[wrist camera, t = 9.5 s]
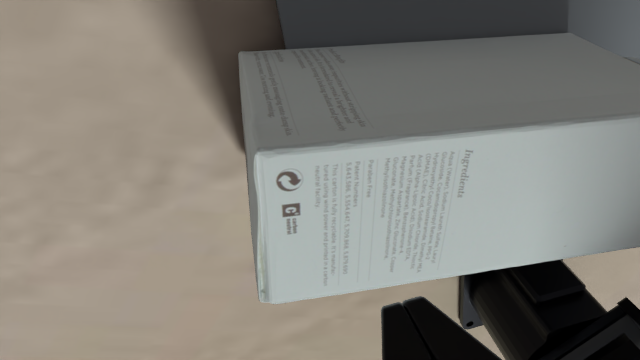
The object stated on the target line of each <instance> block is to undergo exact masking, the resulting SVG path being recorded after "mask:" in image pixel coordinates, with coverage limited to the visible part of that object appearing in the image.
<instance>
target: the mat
mask: <svg viewBox="0 0 640 360" xmlns="http://www.w3.org/2000/svg"><path fill="white" fill-rule="evenodd" d="M276 4H277V9H278V14H279V19H280V24H281V29H282V34H283V39H284V44H285V49H303V48H320V47H337V46H354V45H371V44H387V43H405V42H423V41H440V40H456V39H474V38H490V37H506V36H521V35H540V34H557V33H572V34H574V35H576V36H578V37H580V38H582V39H584V40H586V41H588V42H590V43H592V44H594V45H597V46H599V47H601V48H603V49H605V50H607V51H610V52H612V53H614V54H616V55H619V56H621V57H634V58H637V59H640V0H276Z"/></svg>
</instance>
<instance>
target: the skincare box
mask: <svg viewBox="0 0 640 360" xmlns="http://www.w3.org/2000/svg"><path fill="white" fill-rule="evenodd" d="M238 60H239V79H240V92H241V106H242V119H243V131H244V143H245V155H246V167H247V181H248V195H249V208H250V221H251V234H252V244H253V253H254V263H255V273H256V282H257V290H258V297H259V301H261V302H269V303H272V304H280V303H287V302H293V301H299V300H305V299H312V298H319V297H325V296H333V295H339V294H345V293H351V292H357V291H364V290H371V289H378V288H384V287H390V286H396V285H402V284H408V283H414V282H420V281H427V280H434V279H441V278H447V277H454V276H460V275H466V274H473V273H479V272H485V271H490V270H497V269H503V268H509V267H517V266H523V265H529V264H535V263H541V262H547V261H553V260H560V259H566V258H572V257H578V256H584V255H591V254H598V253H604V252H610V251H616V250H622V249H629V248H636V247H640V59H637V58H634V57H621V56H619V55H616V54H614V53H612V52H610V51H607V50H605V49H603V48H601V47H599V46H597V45H594V44H592V43H590V42H588V41H586V40H584V39H582V38H580V37H578V36H576V35H574V34H572V33H557V34H540V35H521V36H506V37H490V38H474V39H456V40H440V41H423V42H405V43H387V44H371V45H354V46H337V47H320V48H303V49H285V50H267V51H249V52H246V51H241V52H239V53H238Z"/></svg>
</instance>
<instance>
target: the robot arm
mask: <svg viewBox="0 0 640 360" xmlns="http://www.w3.org/2000/svg"><path fill="white" fill-rule="evenodd" d="M585 287H586V286H585V284H584V283H583V282H582V281H581V280H580V279H579V278H578V277H577V276H576V275H575V274H574V273H573V272H572V271H571V269H570V268H569V267H568V266H567V265H566V264H565V263H564V262H563V259H560V260H553V261H547V262H541V263H535V264H529V265H523V266H517V267H509V268H503V269H497V270H490V271H485V272H479V273H473V274H466V275H461V298H460V323H461V325H462V327H463V328H464V329H471V328H475V327H478V326H482V325H484V326H485V328H486V329H487V331H488V332H489V334H490V336H491V337H492V339H493V340H494V342H495V344H496V345H497V347H498V348H499V350H500V352H501V353H502V355H503V356H504V358H505V360H640V310H639V309H638V308H637V307H636V306H635V305H634V304H633V303H632V302H631V301H630V300H629V299H628V298H627V297H626V298H624V299H623V300H621V301H620V302H618V303H617V304H618V305H617V306H616V307H614V308H613V309H611V310H610V311H608V312H607V311H606V310H605V309H604V308H603V307H602V306H601V304H600V303H599V302H598V301H597V300H596V299H595V298H594V297H593V296H592V295H591V294H590V293H589V292H588V291H587V289H586V288H585ZM381 323H382V360H502V359H501V358H499V357H498V356H497V355H496V354H494V353H493V352H492V351H491V350H489V349H488V348H487V347H486V346H484V345H483V344H482V343H481V342H479V341H478V340H477V339H476V338H474V337H473V336H472V335H471V334H469V333H468V332H467V331H466V330H464V329H463V328H462V327H461V326H459V325H458V324H457V323H456V322H454V321H453V320H452V319H451V318H449V317H448V316H447V315H446V314H444V313H443V312H442V311H441V310H439V309H438V308H437V307H436V306H434V305H433V304H432V303H431V302H430V301H428V300H427V299H426V298H424V297H421V296H419V297H415V298H412V299H408V300H405V301H403V303H400V302H397V303H394V304H390V305H387V306H383V307H382V309H381Z"/></svg>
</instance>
